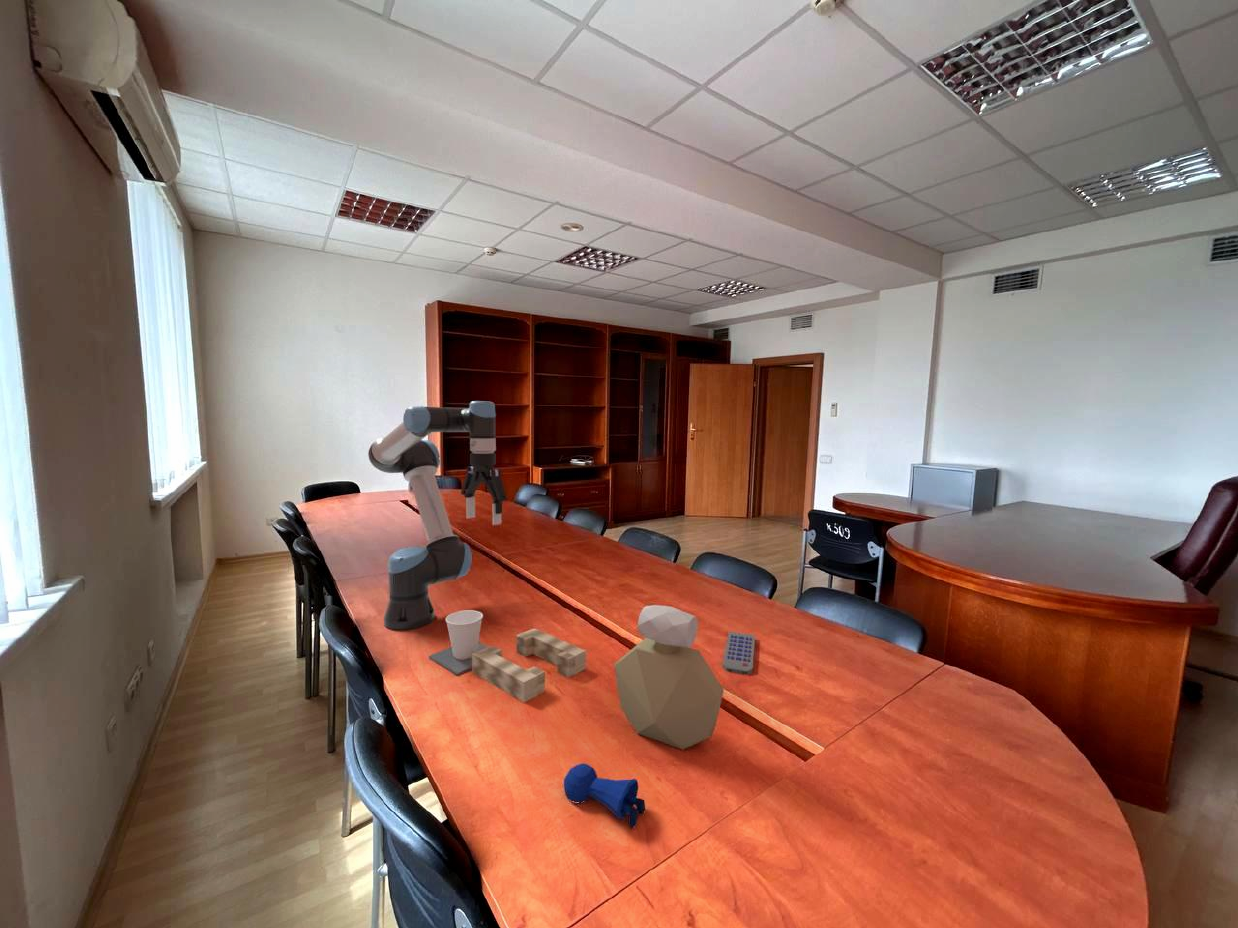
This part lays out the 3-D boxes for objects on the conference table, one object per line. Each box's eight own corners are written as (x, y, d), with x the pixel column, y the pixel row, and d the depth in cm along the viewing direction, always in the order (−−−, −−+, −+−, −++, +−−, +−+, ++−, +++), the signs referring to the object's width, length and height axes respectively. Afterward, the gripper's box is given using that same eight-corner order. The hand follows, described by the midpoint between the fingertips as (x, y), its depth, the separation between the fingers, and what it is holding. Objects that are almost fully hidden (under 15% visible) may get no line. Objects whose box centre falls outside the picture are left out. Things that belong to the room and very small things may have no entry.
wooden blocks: (472, 672, 128) (472, 653, 127) (533, 644, 144) (533, 628, 144) (524, 702, 115) (524, 682, 114) (585, 668, 131) (585, 650, 130)
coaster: (428, 657, 135) (428, 655, 135) (472, 640, 146) (472, 638, 146) (457, 675, 126) (457, 673, 126) (501, 655, 137) (501, 653, 137)
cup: (472, 665, 130) (471, 626, 129) (438, 661, 132) (438, 622, 131) (489, 648, 140) (489, 611, 139) (458, 645, 142) (457, 608, 141)
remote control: (754, 641, 150) (755, 634, 150) (752, 677, 129) (752, 669, 128) (728, 637, 152) (728, 630, 152) (721, 671, 131) (721, 664, 131)
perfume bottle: (710, 771, 93) (715, 630, 91) (602, 730, 105) (604, 604, 102) (728, 735, 104) (733, 608, 101) (628, 702, 115) (631, 587, 113)
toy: (648, 810, 85) (577, 774, 92) (650, 777, 84) (578, 743, 91) (628, 838, 79) (555, 797, 86) (631, 803, 78) (556, 765, 86)
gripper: (449, 450, 154) (450, 516, 156) (497, 455, 138) (498, 529, 140) (470, 449, 159) (470, 513, 161) (518, 454, 144) (519, 525, 145)
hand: (483, 521), depth 150 cm, fingers open, 13 cm apart
